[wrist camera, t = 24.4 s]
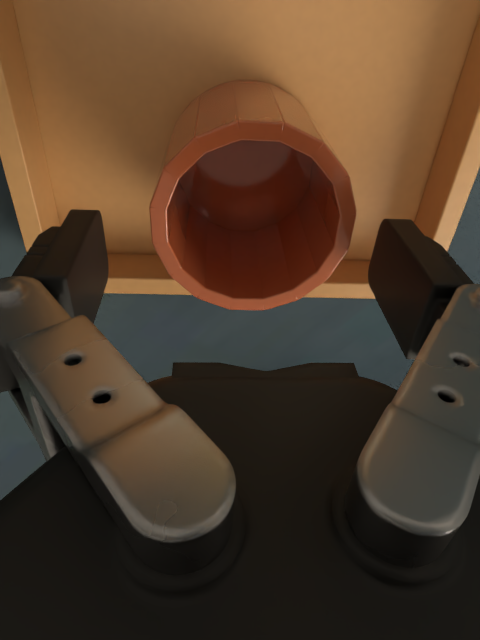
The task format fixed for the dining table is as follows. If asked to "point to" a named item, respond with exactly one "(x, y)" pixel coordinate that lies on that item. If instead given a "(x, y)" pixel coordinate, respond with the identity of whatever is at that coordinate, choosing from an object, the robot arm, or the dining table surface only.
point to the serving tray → (228, 65)
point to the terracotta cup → (250, 199)
